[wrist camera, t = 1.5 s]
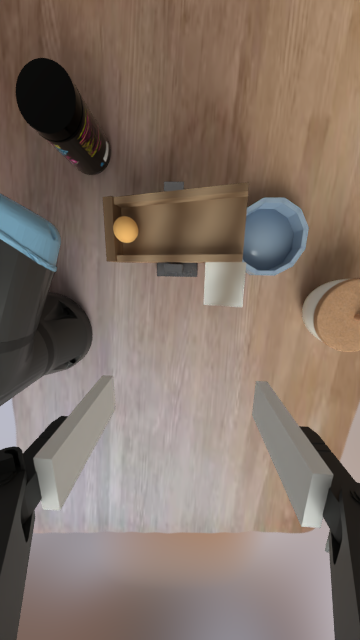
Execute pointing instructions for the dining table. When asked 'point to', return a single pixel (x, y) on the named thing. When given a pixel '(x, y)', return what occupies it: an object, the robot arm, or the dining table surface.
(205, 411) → the dining table surface
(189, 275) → the pivot stand
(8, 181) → the dining table surface
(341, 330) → the lidded jar
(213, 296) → the lever
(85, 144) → the supplement container
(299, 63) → the dining table surface
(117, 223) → the ball
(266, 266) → the bowl
